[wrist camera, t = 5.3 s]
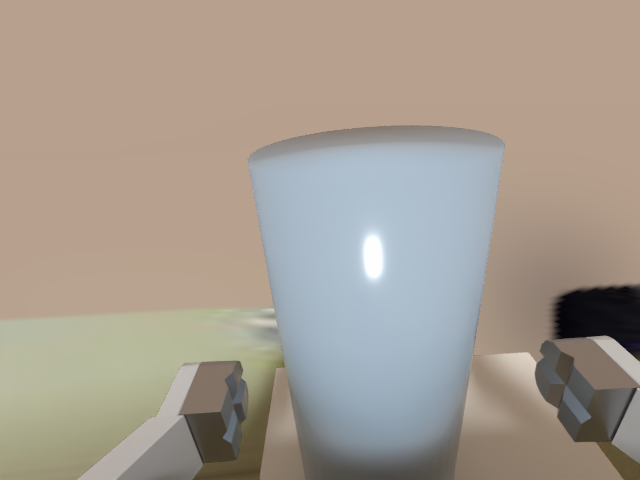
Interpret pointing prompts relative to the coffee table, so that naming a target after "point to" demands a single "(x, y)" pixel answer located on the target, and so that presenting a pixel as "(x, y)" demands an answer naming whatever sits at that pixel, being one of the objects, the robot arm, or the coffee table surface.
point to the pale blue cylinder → (378, 289)
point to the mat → (473, 430)
